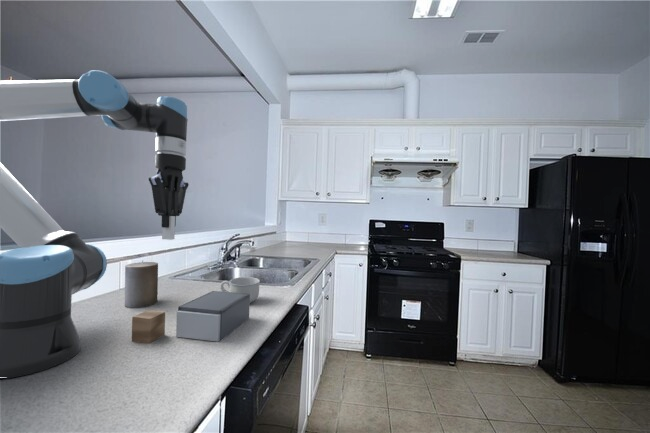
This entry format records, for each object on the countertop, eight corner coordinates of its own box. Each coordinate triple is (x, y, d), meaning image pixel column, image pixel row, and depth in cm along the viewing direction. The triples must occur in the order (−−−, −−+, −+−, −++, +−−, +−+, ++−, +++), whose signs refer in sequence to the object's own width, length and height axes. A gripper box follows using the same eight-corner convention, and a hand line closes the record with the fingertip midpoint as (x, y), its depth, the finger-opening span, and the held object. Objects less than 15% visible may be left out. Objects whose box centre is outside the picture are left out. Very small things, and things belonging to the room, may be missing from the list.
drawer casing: (221, 340, 70) (222, 310, 70) (177, 335, 72) (178, 306, 72) (249, 318, 86) (249, 293, 86) (212, 314, 88) (213, 290, 88)
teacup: (263, 298, 107) (263, 277, 107) (253, 307, 96) (253, 284, 96) (228, 296, 108) (229, 275, 108) (214, 305, 98) (215, 282, 98)
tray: (217, 341, 69) (218, 315, 69) (176, 336, 71) (176, 311, 71) (241, 322, 82) (241, 301, 82) (205, 319, 84) (205, 297, 84)
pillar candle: (162, 299, 102) (163, 258, 102) (149, 307, 92) (150, 262, 92) (133, 299, 100) (134, 258, 101) (117, 308, 91) (118, 262, 91)
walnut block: (149, 343, 68) (150, 318, 68) (131, 341, 68) (132, 316, 68) (164, 334, 72) (165, 311, 72) (147, 332, 73) (148, 310, 73)
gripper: (165, 149, 71) (162, 241, 71) (197, 160, 84) (195, 238, 84) (140, 149, 72) (137, 240, 72) (175, 160, 85) (172, 237, 85)
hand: (168, 239), depth 78 cm, fingers closed
